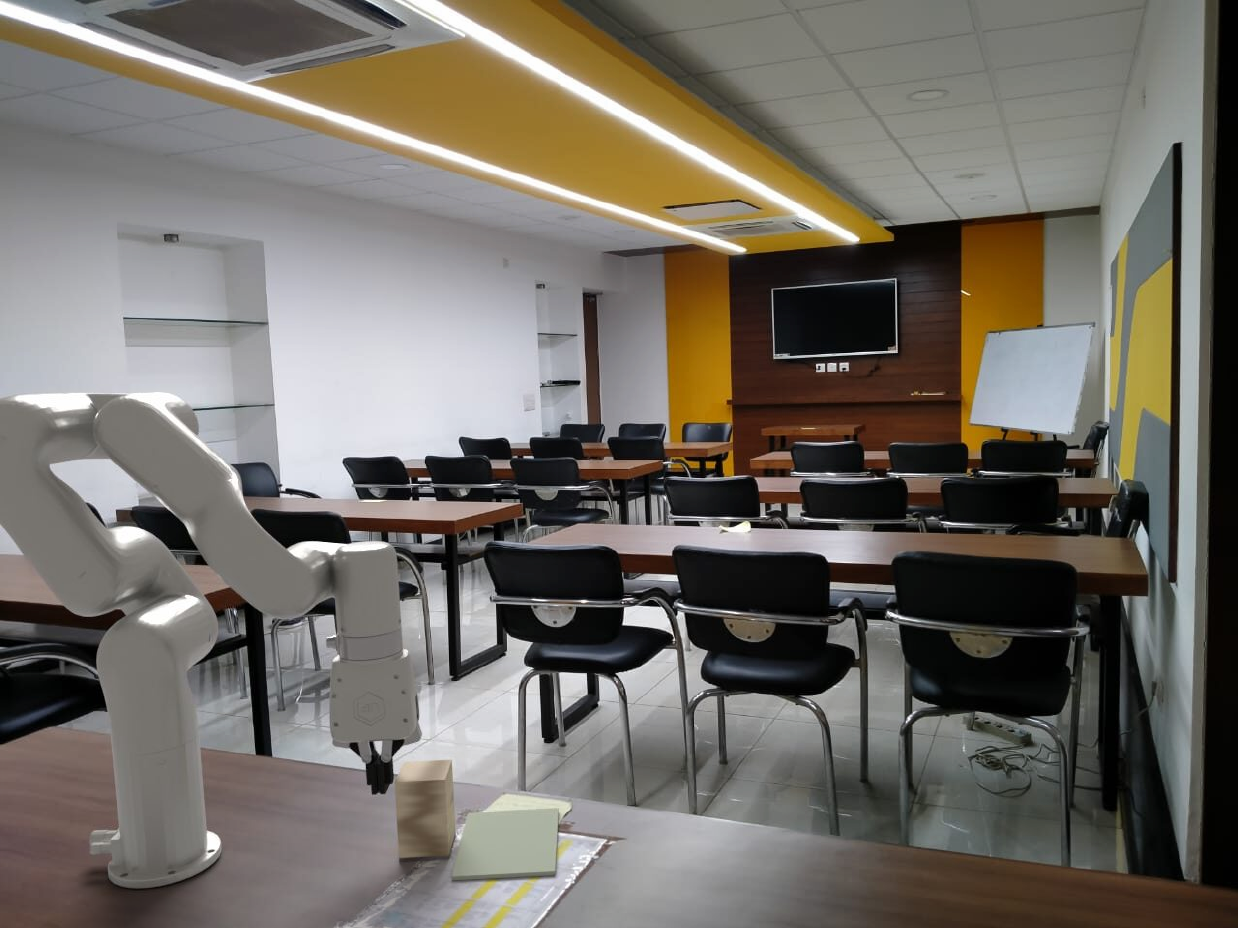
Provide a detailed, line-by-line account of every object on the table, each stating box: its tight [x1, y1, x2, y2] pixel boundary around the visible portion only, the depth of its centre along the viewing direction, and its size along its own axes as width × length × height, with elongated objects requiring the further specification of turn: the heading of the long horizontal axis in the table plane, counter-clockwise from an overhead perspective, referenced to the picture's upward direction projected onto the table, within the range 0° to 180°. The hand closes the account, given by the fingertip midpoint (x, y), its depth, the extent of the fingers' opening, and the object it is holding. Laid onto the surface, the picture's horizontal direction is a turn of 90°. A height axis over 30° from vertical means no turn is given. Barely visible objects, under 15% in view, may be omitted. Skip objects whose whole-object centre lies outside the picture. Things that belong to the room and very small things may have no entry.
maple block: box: [394, 759, 457, 863], centre depth 117 cm, size 6×6×10 cm
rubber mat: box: [451, 807, 560, 881], centre depth 118 cm, size 12×16×1 cm
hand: (381, 789), depth 116 cm, fingers closed
